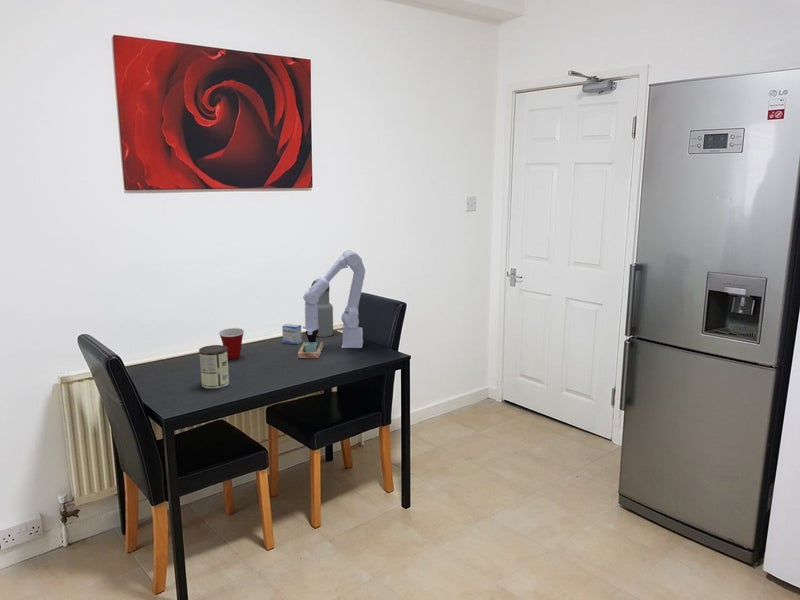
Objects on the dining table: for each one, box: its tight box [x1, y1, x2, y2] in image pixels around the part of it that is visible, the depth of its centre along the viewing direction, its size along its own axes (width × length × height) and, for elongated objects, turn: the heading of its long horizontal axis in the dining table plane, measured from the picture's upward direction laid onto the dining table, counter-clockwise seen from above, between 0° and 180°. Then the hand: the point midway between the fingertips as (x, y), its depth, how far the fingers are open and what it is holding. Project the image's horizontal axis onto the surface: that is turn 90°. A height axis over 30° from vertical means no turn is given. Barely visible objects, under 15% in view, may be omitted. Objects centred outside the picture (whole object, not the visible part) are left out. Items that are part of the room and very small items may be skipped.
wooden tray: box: [297, 341, 324, 360], centre depth 280 cm, size 9×18×2 cm, turn 1°
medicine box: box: [281, 323, 303, 345], centre depth 296 cm, size 8×4×9 cm, turn 73°
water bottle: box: [310, 280, 334, 338], centre depth 308 cm, size 10×10×28 cm
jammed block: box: [304, 341, 319, 352], centre depth 281 cm, size 5×5×4 cm
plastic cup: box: [218, 327, 245, 360], centre depth 271 cm, size 11×11×12 cm
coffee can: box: [198, 344, 230, 389], centre depth 237 cm, size 10×10×14 cm
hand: (312, 346), depth 285 cm, fingers closed
